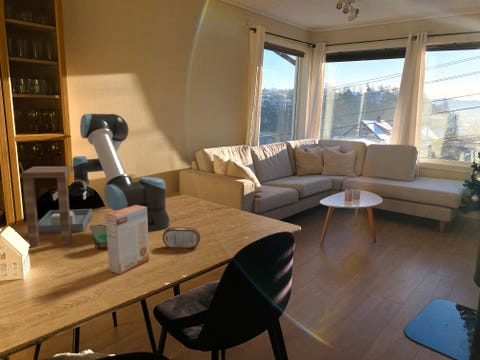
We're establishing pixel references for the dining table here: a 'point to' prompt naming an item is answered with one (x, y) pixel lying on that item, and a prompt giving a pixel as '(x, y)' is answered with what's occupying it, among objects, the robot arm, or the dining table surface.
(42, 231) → the tray
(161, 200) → the robot arm
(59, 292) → the dining table surface
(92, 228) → the food container
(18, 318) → the dining table surface
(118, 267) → the cracker box
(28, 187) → the shelf stand
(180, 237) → the tin
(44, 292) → the dining table surface
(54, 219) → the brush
